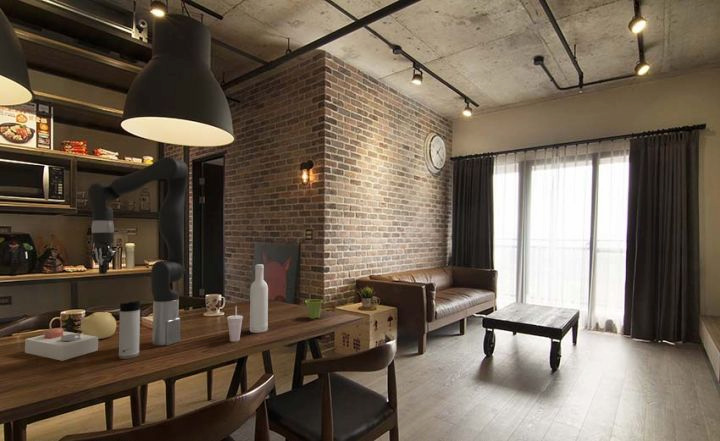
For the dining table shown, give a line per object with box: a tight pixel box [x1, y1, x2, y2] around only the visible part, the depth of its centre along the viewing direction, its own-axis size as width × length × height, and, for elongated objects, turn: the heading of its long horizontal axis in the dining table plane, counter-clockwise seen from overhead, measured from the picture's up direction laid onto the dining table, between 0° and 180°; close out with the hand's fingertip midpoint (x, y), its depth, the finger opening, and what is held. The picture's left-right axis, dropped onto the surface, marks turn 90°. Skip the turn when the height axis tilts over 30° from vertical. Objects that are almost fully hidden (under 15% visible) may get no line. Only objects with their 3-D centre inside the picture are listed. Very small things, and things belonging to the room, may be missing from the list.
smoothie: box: [226, 305, 244, 342], centre depth 153 cm, size 6×6×14 cm
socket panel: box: [24, 330, 99, 362], centre depth 138 cm, size 22×12×5 cm, turn 69°
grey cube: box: [61, 333, 81, 342], centre depth 136 cm, size 6×6×6 cm
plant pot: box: [304, 298, 324, 320], centre depth 194 cm, size 9×9×9 cm
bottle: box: [249, 263, 269, 334], centre depth 168 cm, size 8×8×30 cm
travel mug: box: [118, 300, 141, 360], centre depth 134 cm, size 6×7×20 cm
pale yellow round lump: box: [80, 311, 117, 340], centre depth 156 cm, size 12×12×11 cm
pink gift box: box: [43, 327, 64, 339], centre depth 140 cm, size 6×6×6 cm
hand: (102, 273), depth 152 cm, fingers closed
